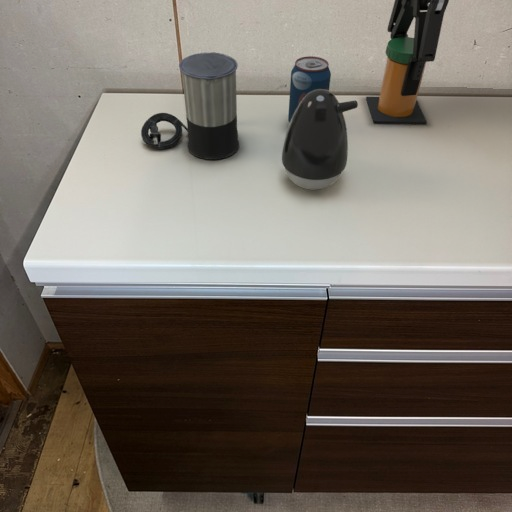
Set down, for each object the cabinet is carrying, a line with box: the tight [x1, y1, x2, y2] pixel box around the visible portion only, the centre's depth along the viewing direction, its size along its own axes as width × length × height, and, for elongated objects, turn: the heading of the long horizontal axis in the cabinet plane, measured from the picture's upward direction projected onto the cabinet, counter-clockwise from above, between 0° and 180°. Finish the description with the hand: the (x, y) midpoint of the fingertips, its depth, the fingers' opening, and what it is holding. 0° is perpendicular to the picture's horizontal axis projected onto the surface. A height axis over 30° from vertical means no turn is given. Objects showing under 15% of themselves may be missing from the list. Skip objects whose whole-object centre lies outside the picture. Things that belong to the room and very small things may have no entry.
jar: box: [377, 56, 427, 117], centre depth 89 cm, size 7×7×12 cm
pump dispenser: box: [281, 89, 359, 190], centre depth 72 cm, size 10×10×15 cm
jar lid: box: [385, 36, 414, 64], centre depth 85 cm, size 8×8×2 cm
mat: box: [365, 96, 428, 126], centre depth 93 cm, size 10×10×1 cm
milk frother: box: [140, 51, 240, 160], centre depth 79 cm, size 14×16×15 cm
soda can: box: [287, 55, 332, 124], centre depth 85 cm, size 7×7×12 cm
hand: (399, 84), depth 90 cm, fingers closed on jar lid, 7 cm apart
